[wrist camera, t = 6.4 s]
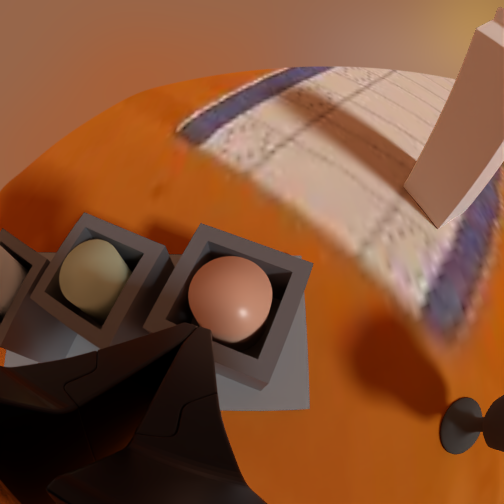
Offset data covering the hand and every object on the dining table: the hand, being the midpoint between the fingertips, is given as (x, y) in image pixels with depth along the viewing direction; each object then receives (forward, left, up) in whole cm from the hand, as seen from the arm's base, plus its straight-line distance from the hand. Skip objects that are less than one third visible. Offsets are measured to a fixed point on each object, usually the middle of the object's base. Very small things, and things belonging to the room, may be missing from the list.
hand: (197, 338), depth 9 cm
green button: (+1, +8, -7) cm, 11 cm away
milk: (+23, -14, -12) cm, 30 cm away
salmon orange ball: (+3, 0, -7) cm, 8 cm away
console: (+1, +7, -12) cm, 14 cm away
